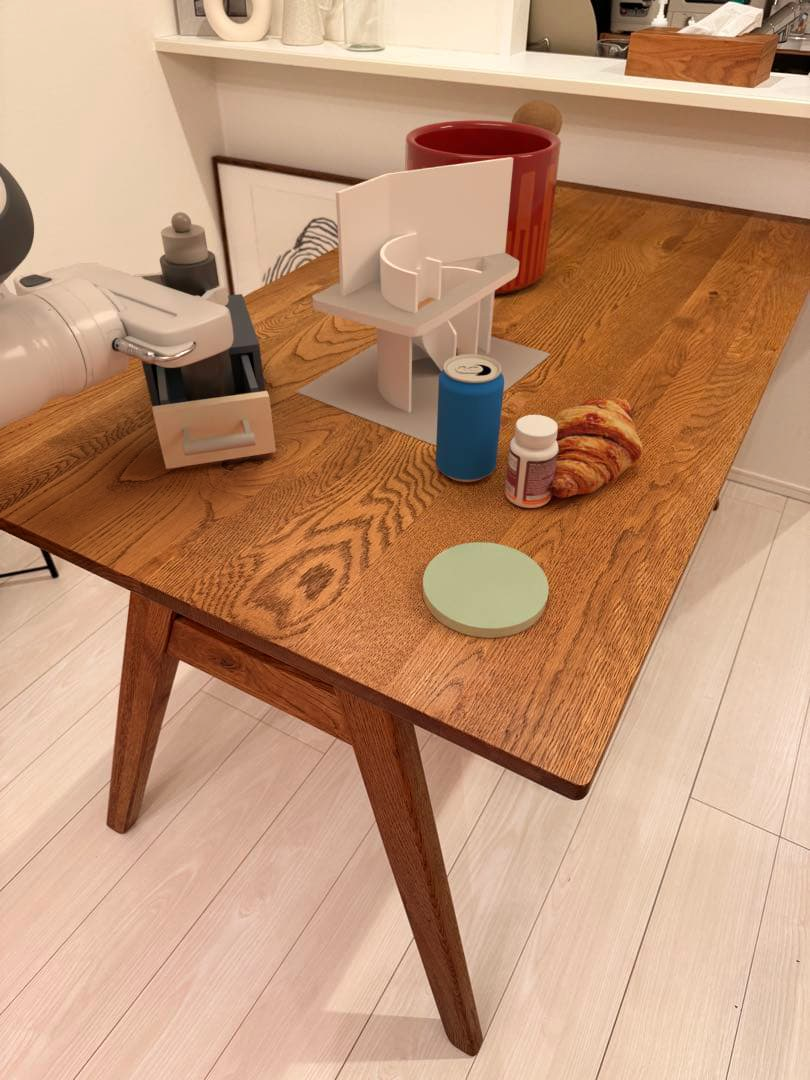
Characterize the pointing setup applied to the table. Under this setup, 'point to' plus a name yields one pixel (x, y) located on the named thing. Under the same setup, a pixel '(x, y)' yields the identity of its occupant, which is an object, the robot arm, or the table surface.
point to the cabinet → (242, 343)
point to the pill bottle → (532, 461)
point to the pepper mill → (190, 273)
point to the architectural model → (420, 289)
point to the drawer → (213, 419)
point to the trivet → (485, 589)
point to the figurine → (539, 116)
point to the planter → (529, 181)
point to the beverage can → (469, 417)
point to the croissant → (593, 445)
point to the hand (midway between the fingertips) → (199, 285)
